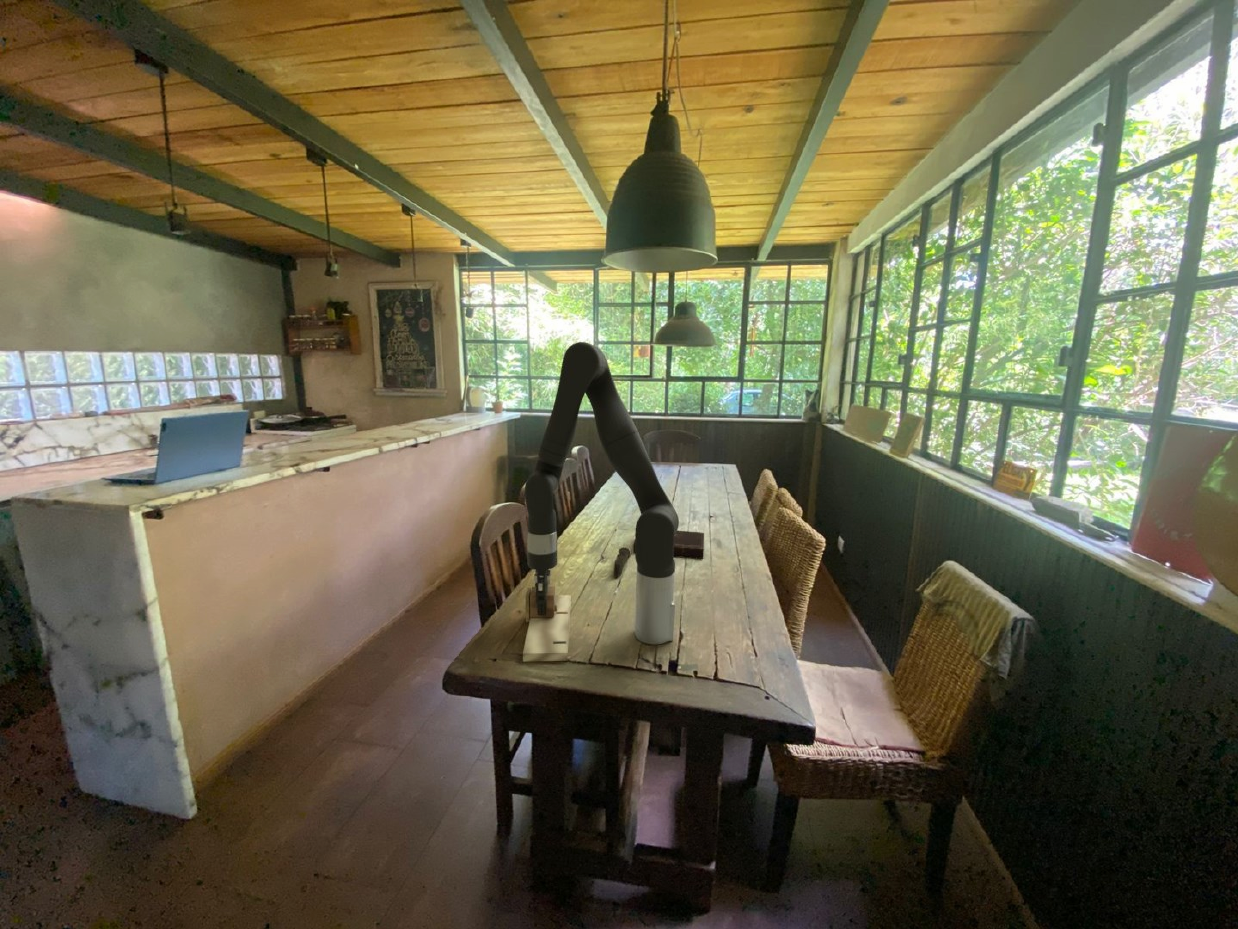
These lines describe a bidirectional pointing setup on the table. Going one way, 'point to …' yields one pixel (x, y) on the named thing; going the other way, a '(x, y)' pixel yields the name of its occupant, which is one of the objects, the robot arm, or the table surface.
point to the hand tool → (621, 561)
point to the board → (549, 634)
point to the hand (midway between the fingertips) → (542, 609)
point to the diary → (687, 544)
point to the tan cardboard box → (532, 605)
